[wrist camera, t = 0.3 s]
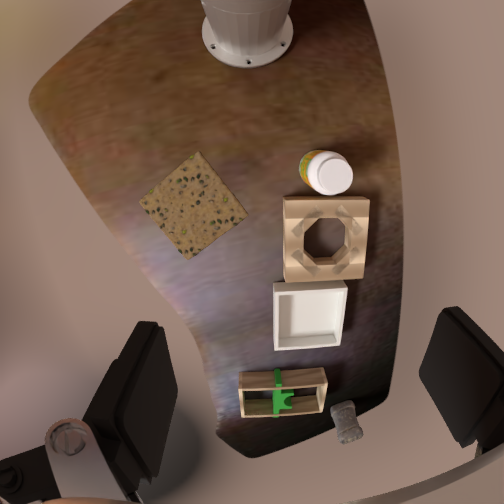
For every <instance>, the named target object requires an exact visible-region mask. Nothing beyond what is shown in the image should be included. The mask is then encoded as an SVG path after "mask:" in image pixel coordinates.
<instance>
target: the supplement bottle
mask: <svg viewBox="0 0 504 504" xmlns="http://www.w3.org/2000/svg"><path fill="white" fill-rule="evenodd" d="M299 171H300V175H301V177H302V179H303V180H304V182H305V183H307V184H308V185H309V186H311V187H312V188H313V189H315V190H316V191H317V192H319V193H321V194H324V195H335V194H338V193H341V192H344V191H345V190H347V189H348V188H349V187H350V185H351V183H352V180H353V172H352V169H351V167H350V165H349V164H348V162H347V161H346V159H345V158H344V157H343V156H341V155H340V154H338V153H336V152H332V151H324V150H313V151H310V152H308V153H307V154H306V155H305V156H304V157H303V158H302V160H301V162H300V166H299Z"/></svg>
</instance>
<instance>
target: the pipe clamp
mask: <svg viewBox="0 0 504 504" xmlns="http://www.w3.org/2000/svg"><path fill="white" fill-rule="evenodd" d="M274 373H275V384H276V387H282V380H281V372H280V368H279V369H275V370H274ZM293 395H294V390H293V389H281V390H273V398H272V401H273V414H279V409H292V403H291V396H293ZM273 417H278V416H273Z"/></svg>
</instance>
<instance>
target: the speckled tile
mask: <svg viewBox="0 0 504 504" xmlns="http://www.w3.org/2000/svg"><path fill="white" fill-rule="evenodd" d="M140 204H141V205H142V207H143V208H144V209H145V210H146V212H147V213H148V214H149V215H150V217H151V218H152V219H153V220H154V221H155V222H156V223H157V225H158V226H159V228H160V229H161V230H162V231H163V232H164V233H165V235H166V236H167V237H168V238H169V239H170V240H171V241H172V243H173V244H174V245H175V247H176V248H177V249H178V251H179V252H180V253H181V254H182V255H183V256H184V258H186V259H187V260H189V259H191V258H192V257H194V256H196V254H197V253H199V252H200V251H201V250H203V249H204V248H206V247H207V246H209V245H210V244H211V243H212V242H213V241H214V240H216V239H217V238H218V237H220V236H221V235H223V234H224V233H225V232H226V231H228V230H230V229H231V228H233V227H234V226H236V225H237V224H238V223H239V222H241V221H242V220H243V219H244V218H245V217H247V216H248V213H247V212H246V211H245V209H244V208H243V206H242V205H241V204H240V203H239V201H238V200H237V199H236V197H235V196H234V194H233V193H232V192H231V191H230V190H229V189H228V188H227V186H226V185H225V184H224V183H223V181H222V179H221V178H220V177H219V176H218V175H217V173H216V172H215V171H214V170H213V168H212V167H211V166H210V164H209V163H208V162H207V160H206V159H205V158H204V157H203V156H202V154H201V152H200V151H198V152H197V153H195V154H194V155H191V156H190V157H189V159H188V160H186V161H185V162H184V163H182V164H181V165H180V166H179V167H178V168H177V169H176V170H174V171H173V172H172V173H170V174H169V175H168V176H167V177H166V178H165V179H163V180H162V181H161V182H160V183H159V184H158V185H157V186H156V187H155V188H153V189H151V190H150V191H149V193H148V194H146V195H145V197H143V198H142V199H141V200H140Z"/></svg>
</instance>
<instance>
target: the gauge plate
mask: <svg viewBox="0 0 504 504" xmlns="http://www.w3.org/2000/svg"><path fill="white" fill-rule="evenodd" d="M369 205H370V200H369V199H367V198H365V197H363V196H290V197H283V274H284V278H285V283H290V282H310V281H328V280H344V279H359V278H363V273H364V265H365V256H366V245H367V234H368V221H369ZM318 218H339V219H340V220H341V222H342V223H343V224H344V225H345V243H344V245H343V246H342V247H341V248H340V249H339V250H338V251H337V252H336V253H335V254H334V255H333V256H332V257H319V258H313V257H312V256H311V255H310V254H308V253H307V252H306V251H305V250H304V249H303V245H304V232H305V231H306V230H307V229H308V228H309V227H310V226H311V225H312V224H313V223H314V222H315V221H316V220H317V219H318Z"/></svg>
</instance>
